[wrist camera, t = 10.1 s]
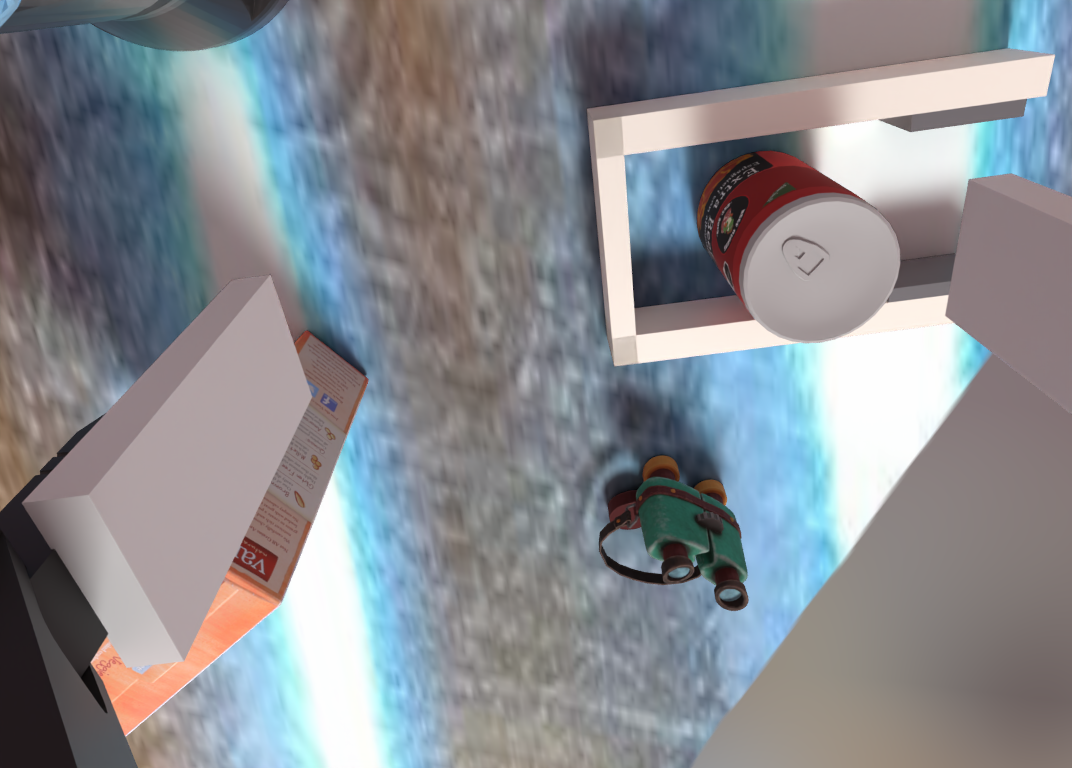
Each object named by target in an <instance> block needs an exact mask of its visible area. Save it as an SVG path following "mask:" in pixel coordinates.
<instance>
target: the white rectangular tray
mask: <svg viewBox="0 0 1072 768" xmlns="http://www.w3.org/2000/svg"><path fill="white" fill-rule="evenodd" d="M1054 58H1055V55H1053V54H1046V53H1039V52H1031V51H1024V50H1017V49H1010V48H1006V49H999V50H992V51H985V52H978V53H971V54H964V55H957V56H950V57H943V58H937V59H930V60H923V61H916V62H909V63H902V64H895V65H888V66H881V67H874V68H867V69H860V70H853V71H846V72H839V73H832V74H825V75H818V76H811V77H804V78H797V79H790V80H783V81H776V82H769V83H762V84H755V85H748V86H741V87H734V88H727V89H720V90H714V91H707V92H700V93H693V94H686V95H679V96H672V97H665V98H658V99H651V100H644V101H637V102H630V103H623V104H616V105H609V106H602V107H595V108H588V109H587V118H588V129H589V141H590V152H591V163H592V174H593V185H594V196H595V207H596V218H597V229H598V241H599V252H600V263H601V274H602V285H603V296H604V307H605V318H606V329H607V339H608V343H609V347H610V351H611V355H612V359H613V363H614V366H622V365H629V364H637V363H645V362H653V361H661V360H669V359H676V358H684V357H692V356H700V355H708V354H716V353H723V352H731V351H739V350H747V349H755V348H763V347H770V346H778V345H786V344H794V343H800V342H792V341H789V340H786V339H783V338H780V337H778V336H776V335H774V334H773V333H771V332H769V331H767V330H766V329H765V328H764V327H763V326H762V325H761V324H760V323H758V322H757V321H756V320H755V319H754V318H753V317H752V315H751V314H750V312H749V311H748V310H747V309H746V307H745V306H744V304H743V303H742V302H741V300H740V299H739V297H738V296H737V295H732V296H725V297H717V298H709V299H702V300H694V301H686V302H679V303H671V304H663V305H656V306H648V307H641V308H634V297H633V282H632V267H631V252H630V237H629V222H628V207H627V192H626V177H625V163H624V155H629V154H636V153H643V152H650V151H657V150H664V149H671V148H678V147H685V146H693V145H700V144H707V143H714V142H721V141H728V140H735V139H742V138H750V137H757V136H764V135H771V134H778V133H785V132H792V131H799V130H807V129H814V128H821V127H828V126H835V125H842V124H849V123H856V122H864V121H871V120H880V121H883V122H886V123H888V124H891V125H893V126H896V127H899V128H901V129H904V130H906V131H909V132H914V131H921V130H929V129H936V128H943V127H950V126H957V125H964V124H972V123H979V122H986V121H993V120H1000V119H1007V118H1015V117H1022V116H1024V111H1025V106H1026V101H1027V98H1035V97H1042V96H1046V95H1047V90H1048V85H1049V81H1050V76H1051V71H1052V67H1053V62H1054ZM955 256H956V254H948V255H941V256H933V257H925V258H918V259H910V260H903V261H900V268H899V273H898V278H897V281H896V283H895V286H894V288H893V291H892V293H891V294H890V296H889V298H888V299H887V301H886V302H885V304H884V305H883V306H882V308H881V309H880V310H879V311H878V312H877V313H876V314H875V316H874V317H872V318H871V319H870V320H869V321H867V322H866V323H865V324H864V325H863V326H861V327H859V328H858V329H856V330H854V331H853V332H851V333H849V334H847V335H844V336H842V337H849V336H857V335H864V334H872V333H880V332H888V331H896V330H904V329H911V328H919V327H927V326H935V325H943V324H951V323H954V322H953V321H951V320H950V319H949V318H947V317H946V316H945V313H946V308H947V302H948V296H949V290H950V285H951V279H952V273H953V267H954V262H955ZM839 338H841V337H839Z"/></svg>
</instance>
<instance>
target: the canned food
mask: <svg viewBox="0 0 1072 768" xmlns="http://www.w3.org/2000/svg"><path fill="white" fill-rule="evenodd" d="M697 227H698V232H699V237H700V239H701V242H702V244H703V246H704V248H705V249H706V251H707V252H708V254H709V255H710V257H711V258H712V260H713V261H714V262H715V264H716V265H717V267H718V268H719V270H720V271H721V273H722V274H723V275H724V277H725V278H726V280H727V281H728V283H729V284H730V286H731V287H732V289H733V290H734V291H735V293H736V294H737V296H738V297H739V299H740V300H741V302H742V303H743V304H744V306H745V307H746V309H747V310H748V311H749V312H750V314H751V315H752V317H753V318H754V319H755V320H756V321H757V322H758V323H760V324H761V325H762V326H763V327H764V328H765V329H766V330H767V331H769V332H771V333H773V334H774V335H776V336H778V337H780V338H783V339H786V340H789V341H792V342H800V343H820V342H825V341H829V340H834V339H837V338H839V337H842V336H844V335H847V334H849V333H851V332H853V331H854V330H856V329H858V328H859V327H861V326H863V325H864V324H865V323H866V322H867V321H869V320H870V319H871V318H872V317H874V316H875V314H876V313H877V312H878V311H879V310H880V309H881V308H882V306H883V305H884V304H885V302H886V301H887V299H888V298H889V296H890V294H891V293H892V291H893V288H894V286H895V283H896V281H897V278H898V273H899V268H900V248H899V244H898V240H897V236H896V234H895V232H894V230H893V228H892V227H891V225H890V223H889V222H888V221H887V220H886V219H885V218H884V216H883V215H882V214H881V213H880V212H879V211H878V210H877V209H876V208H875V207H873V206H872V205H870V204H869V203H867V202H866V201H865V200H863V199H862V198H860V197H859V196H857V195H856V194H854V193H852V192H851V191H849V190H848V189H846V188H844V187H843V186H841V185H839V184H838V183H836V182H835V181H833V180H831V179H830V178H828V177H827V176H825V175H823V174H822V173H820V172H818V171H817V170H815V169H814V168H812V167H810V166H809V165H807V164H805V163H804V162H802V161H801V160H799V159H797V158H796V157H794V156H791V155H788V154H786V153H782V152H776V151H758V152H754V153H750V154H746V155H742V156H740V157H738V158H736V159H734V160H732V161H730V162H729V163H727V164H726V165H724V166H723V167H722V168H720V169H719V170H718V171H717V172H716V173H715V175H714V176H713V177H712V178H711V179H710V181H709V182H708V184H707V185H706V187H705V189H704V191H703V194H702V196H701V199H700V203H699V207H698V212H697Z"/></svg>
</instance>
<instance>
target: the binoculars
mask: <svg viewBox="0 0 1072 768" xmlns="http://www.w3.org/2000/svg"><path fill="white" fill-rule="evenodd" d="M679 478H680V476H679V470H678V466H677V463H676V462H675V460H673V459H672V458H671V457H669V456H663V455H661V456H656V457H653V458H652V459H650V460H649V461H648V462H647V463H646V464H645V466H644V469H643V480H644V483H643V484H642V485H641V486H640V487H639V489H638V490H633V491H627V492H623V493H621V494H618V495H616V496H615V497H613V498H612V499H611V500H610V501H609V504H608V511H609V519H610V523H608V524H607V525H606V526H605V527H604V528H603V530H602V531H601V532H600V537H599V552H600V554H601V556H602V558H603V560H604V562H605V564H606V566H607V567H609V568H610V569H612V570H613V571H615V572H616V573H617V574H619V575H621V576H624V577H627V578H629V579H632V580H636V581H640V582H644V583H649V584H658V585H668V584H678V583H684V582H687V581H690V580H693V579H695V578H698V577H700V576H701V575H702V576H703V577H704V578H705V579H706V580H708V581H709V582H711V583H713V584H714V585H716V587H715V589H714V593H715V599H716V602H717V603H718V604H719V605H720V606H721V607H722V608H724V609H727V610H731V611H737V610H741V609H743V608H745V607H746V606H747V604H748V595H747V592H746V589H745V586H744V584H743V582H744V581H746V579H747V576H748V575H747V567H746V563H745V558H744V553H743V548H742V543H741V531H740V528H739V525H738V523H737V522H736V518H735V515H734V514H733V513H732V512H731V510H730V509H728V508H727V507H726V506H725V505H726V502H727V497H726V493H725V490H724V487H723V485H722V484H721V483H720V482H718V481H716V480H705V481H702V482H700V483H699V484H697V485H696V486H695V487H694V489H693V488H691V487H689V486H687V485H685V484H683V483H681V482H678V481H679ZM639 527H642V532H643V537H644V541H645V546H646V550H647V552H648V554H649V556H651V557H652V558H654V559H657V560H660V561H663V563H662V566H661V568H662V574H655V573H647V572H642V571H638V570H634V569H631V568H628V567H626V566H623V565H620V564H618V563H617V562H615V561H614V560H613V559H611V558H610V557H608V556H607V555H606V553H605V551H604V549H603V547H602V542H603V541H604V540H605V539H606V537H607V536H608V535H609V534H611V533H612V532H614V531H616V530H617V529H619V528H620V529H625V530H630V529H636V528H639ZM695 556H696V560H697V563H698V565H697V566H696V567H694V566H693V562H694V561H695Z"/></svg>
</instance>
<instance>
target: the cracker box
mask: <svg viewBox="0 0 1072 768" xmlns="http://www.w3.org/2000/svg"><path fill="white" fill-rule="evenodd" d="M294 345H295V348H296V351H297V354H298V357H299V360H300V363H301V365H302V368H303V371H304V374H305V377H306V380H307V383H308V386H309V389H310V392H311V395H312V398H311V400H310V402H309V405H308V407H307V409H306V411H305V413H304V415H303V417H302V419H301V421H300V423H299V425H298V427H297V429H296V431H295V433H294V436H293V438H292V440H291V442H290V444H289V446H288V448H287V450H286V452H285V454H284V456H283V458H282V460H281V462H280V464H279V466H278V469H277V471H276V473H275V475H274V477H273V479H272V481H271V483H270V485H269V487H268V489H267V491H266V493H265V495H264V497H263V500H262V502H261V504H260V506H259V508H258V510H257V512H256V514H255V516H254V518H253V520H252V522H251V524H250V526H249V528H248V530H247V533H246V535H245V537H244V539H243V541H242V543H241V545H240V547H239V549H238V551H237V553H236V555H235V557H234V559H233V561H232V564H231V566H230V568H229V570H228V572H227V574H226V576H225V578H224V580H223V582H222V584H221V586H220V588H219V590H218V592H217V595H216V597H215V599H214V601H213V603H212V605H211V607H210V609H209V611H208V613H207V615H206V617H205V619H204V621H203V623H202V625H201V628H200V630H199V632H198V634H197V636H196V638H195V640H194V642H193V644H192V646H191V648H190V650H189V652H188V654H187V656H186V659H185V661H183V662H174V663H166V664H157V665H148V666H139V667H130V668H126V666H125V664H124V663H123V661H122V660H121V658H120V657H119V655H118V653H117V652H116V650H115V649H114V647H113V646H112V644H111V642H110V641H109V639H108V638H107V637H106V639H105V640H104V642H103V643H102V645H101V647H100V648H99V650H98V651H97V653H96V655H95V656H94V658H93V659H92V661H91V664H92V666H93V667H94V669H95V670H96V671H97V673H98V674H99V676H100V677H101V679H102V680H103V683H104V685H105V688H106V690H107V693H108V695H109V698H110V700H111V702H112V705H113V707H114V710H115V712H116V715H117V717H118V720H119V722H120V725H121V727H122V730H123V732H124V735H125V737H126V736H127V735H128V734H129V733H130V732H132V731H133V730H134V729H135V728H136V727H137V726H139V725H140V724H141V723H142V722H143V721H144V720H146V719H147V718H148V717H149V716H150V715H151V714H153V713H154V712H155V711H156V710H157V709H159V708H160V707H161V706H162V705H163V704H165V703H166V702H167V701H168V700H169V699H170V698H172V697H173V696H174V695H175V694H176V693H177V692H179V691H180V690H181V689H182V688H183V687H185V686H186V685H187V684H188V683H189V682H190V681H192V680H193V679H194V678H195V677H196V676H198V675H199V674H200V673H201V672H202V671H203V670H205V669H206V668H207V667H208V666H209V665H210V664H212V663H213V662H214V661H215V660H216V659H217V658H219V657H220V656H221V655H222V654H223V653H224V652H226V651H227V650H228V649H229V648H230V647H231V646H233V645H234V644H235V643H236V642H237V641H239V640H240V639H241V638H242V637H243V636H244V635H246V634H247V633H248V632H249V631H250V630H251V629H253V628H254V627H255V626H256V625H257V624H258V623H260V622H261V621H262V620H263V619H265V618H266V617H267V616H268V615H269V614H271V613H272V612H273V611H274V610H275V609H277V608H278V607H279V606H280V605H281V603H282V601H283V598H284V596H285V593H286V591H287V588H288V585H289V583H290V580H291V578H292V575H293V573H294V571H295V568H296V566H297V563H298V561H299V558H300V556H301V553H302V550H303V548H304V545H305V543H306V540H307V538H308V535H309V532H310V530H311V527H312V525H313V522H314V520H315V517H316V515H317V512H318V509H319V507H320V504H321V502H322V499H323V497H324V494H325V491H326V489H327V486H328V484H329V481H330V478H331V476H332V473H333V471H334V468H335V466H336V463H337V460H338V458H339V456H340V453H341V450H342V448H343V445H344V443H345V440H346V438H347V435H348V433H349V430H350V428H351V425H352V423H353V420H354V418H355V415H356V412H357V410H358V407H359V404H360V402H361V399H362V397H363V394H364V392H365V389H366V386H367V384H368V380H369V379H368V378H366V377H365V376H364V375H363V374H362V373H360V372H359V371H358V370H357V369H355V368H354V367H353V366H352V365H350V364H349V363H348V362H346V361H345V360H344V359H343V358H341V357H340V356H339V355H338V354H336V353H335V352H334V351H333V350H331V349H330V348H329V347H328V346H326V345H325V344H324V343H323V342H321V341H320V340H319V339H317V338H316V337H315V336H314V335H313V334H311V333H310V332H309V331H307V330H306V331H305V332H304V333H303V334H302V335H301V336H300V337H299V338H298V340H297V341H296V342H295V343H294Z"/></svg>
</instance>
